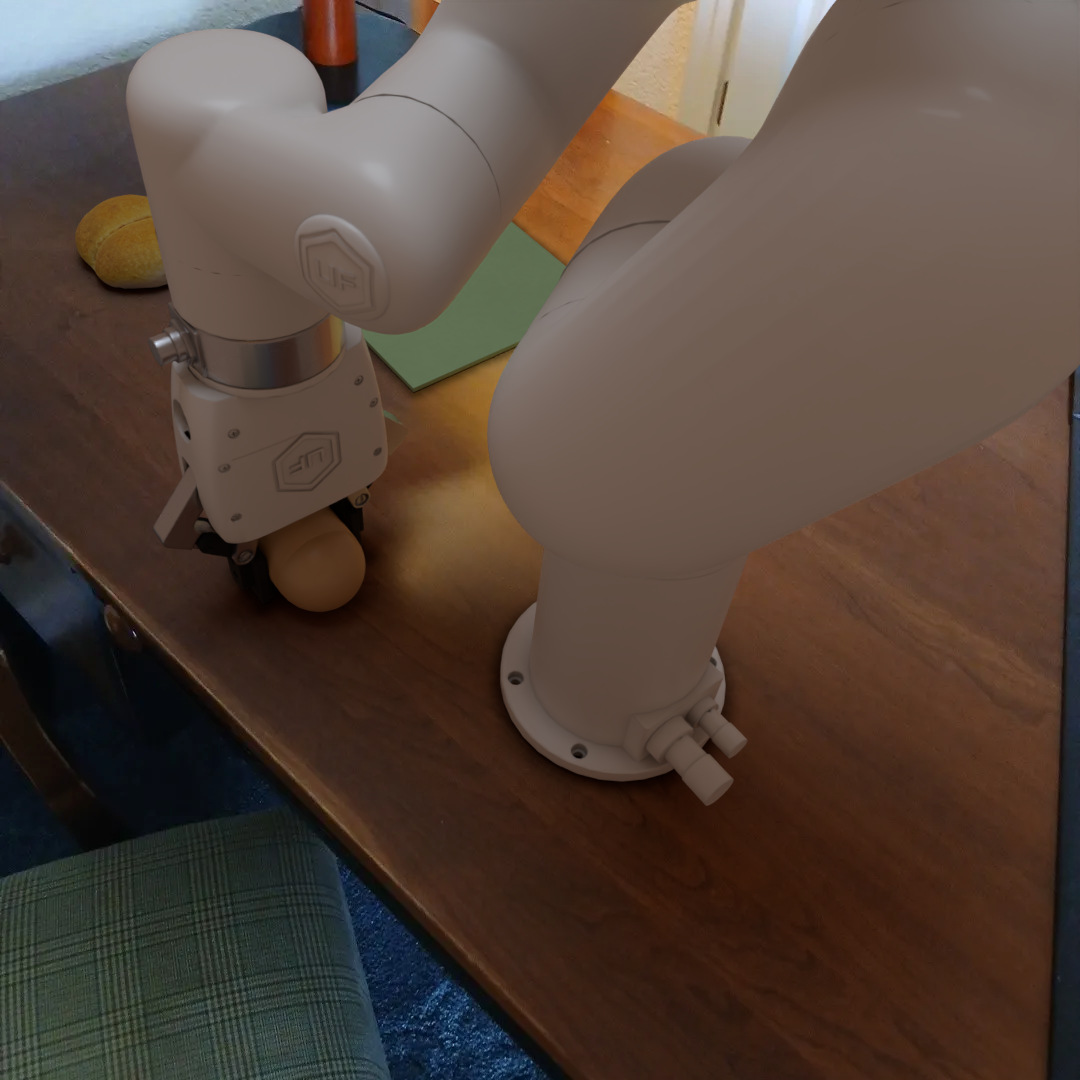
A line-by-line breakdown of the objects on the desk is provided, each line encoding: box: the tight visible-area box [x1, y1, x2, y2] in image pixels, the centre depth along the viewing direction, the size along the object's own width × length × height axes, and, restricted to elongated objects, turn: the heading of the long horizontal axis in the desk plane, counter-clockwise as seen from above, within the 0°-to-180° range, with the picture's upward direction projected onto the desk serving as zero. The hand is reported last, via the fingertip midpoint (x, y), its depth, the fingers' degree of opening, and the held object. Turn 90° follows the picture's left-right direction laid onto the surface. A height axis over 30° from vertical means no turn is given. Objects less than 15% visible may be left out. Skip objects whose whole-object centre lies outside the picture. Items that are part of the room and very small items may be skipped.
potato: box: [257, 506, 366, 613], centre depth 61 cm, size 10×5×5 cm, turn 38°
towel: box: [361, 220, 567, 393], centre depth 82 cm, size 22×18×1 cm
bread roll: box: [74, 193, 168, 289], centre depth 79 cm, size 8×9×4 cm
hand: (300, 560), depth 62 cm, fingers closed on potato, 5 cm apart
